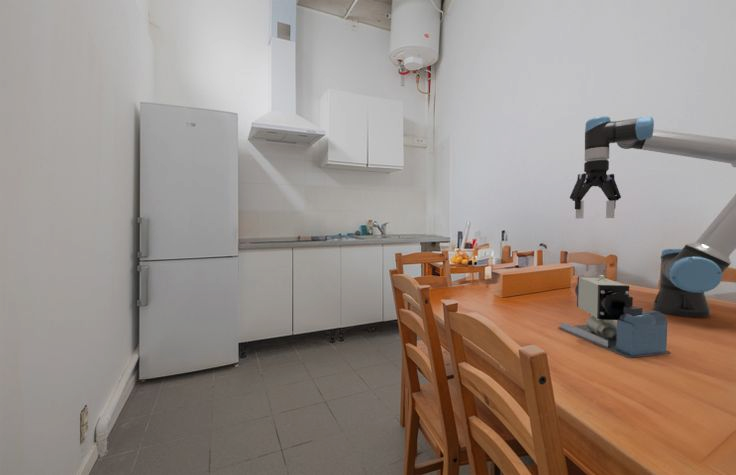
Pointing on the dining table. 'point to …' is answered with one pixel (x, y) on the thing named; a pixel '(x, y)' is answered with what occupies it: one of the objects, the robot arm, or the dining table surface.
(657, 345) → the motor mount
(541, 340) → the dining table surface
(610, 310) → the ball valve
